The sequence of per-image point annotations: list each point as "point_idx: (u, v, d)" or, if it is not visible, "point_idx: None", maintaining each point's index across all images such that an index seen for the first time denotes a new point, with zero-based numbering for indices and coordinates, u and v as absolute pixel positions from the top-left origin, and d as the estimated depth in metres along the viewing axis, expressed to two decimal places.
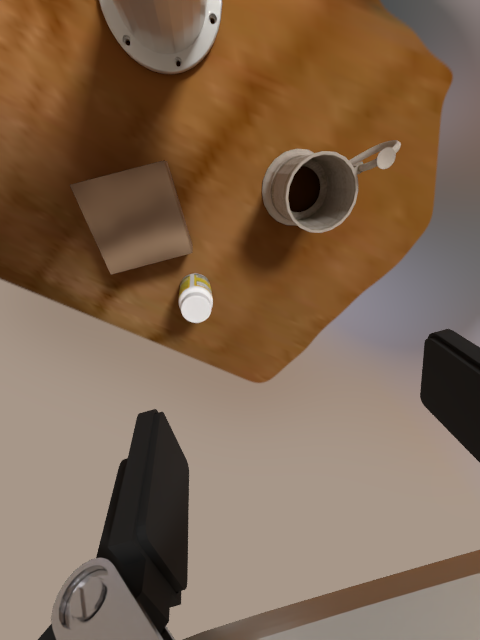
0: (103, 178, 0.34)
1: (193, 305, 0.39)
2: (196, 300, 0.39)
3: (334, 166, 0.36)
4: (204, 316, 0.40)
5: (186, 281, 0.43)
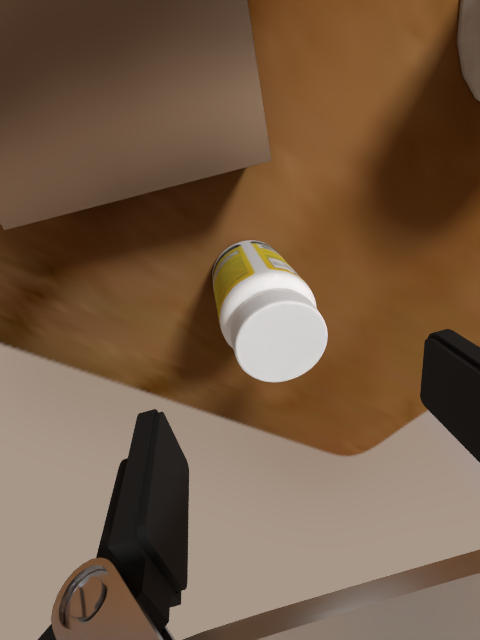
0: None
1: (275, 332, 0.12)
2: (287, 316, 0.12)
3: None
4: (303, 364, 0.13)
5: (235, 258, 0.16)
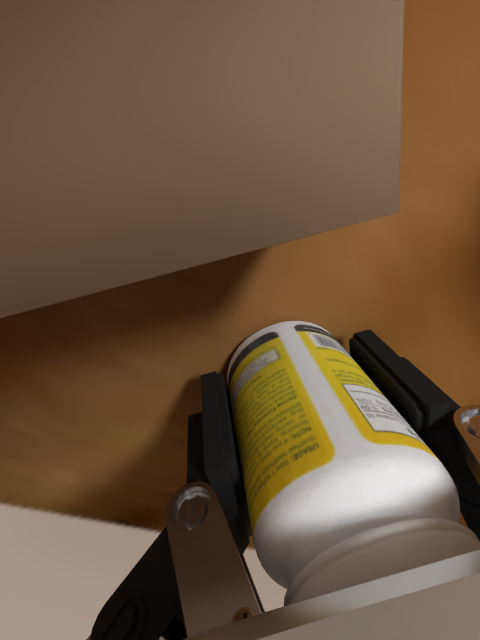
0: None
1: None
2: None
3: None
4: None
5: (276, 373, 0.09)
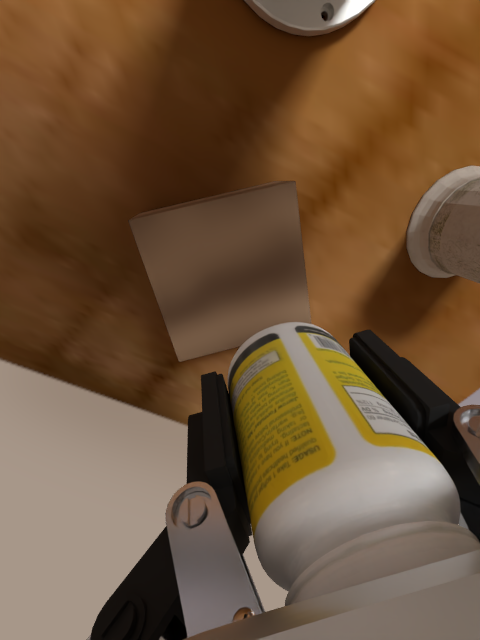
0: (189, 209, 0.19)
1: None
2: None
3: None
4: None
5: (276, 375, 0.09)
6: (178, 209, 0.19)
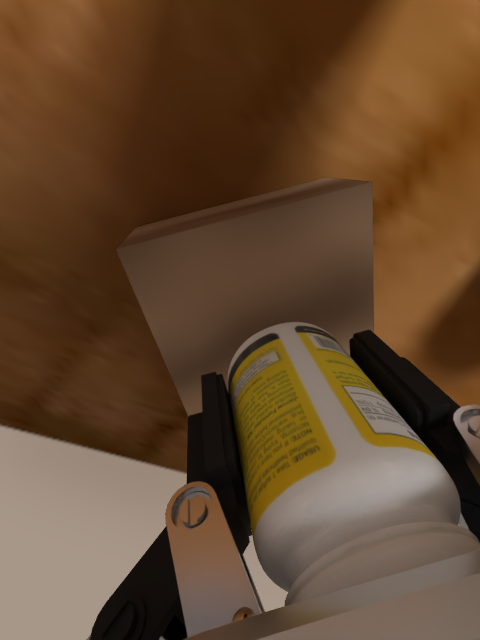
0: (209, 230, 0.12)
1: None
2: None
3: None
4: None
5: (276, 375, 0.09)
6: (192, 230, 0.12)
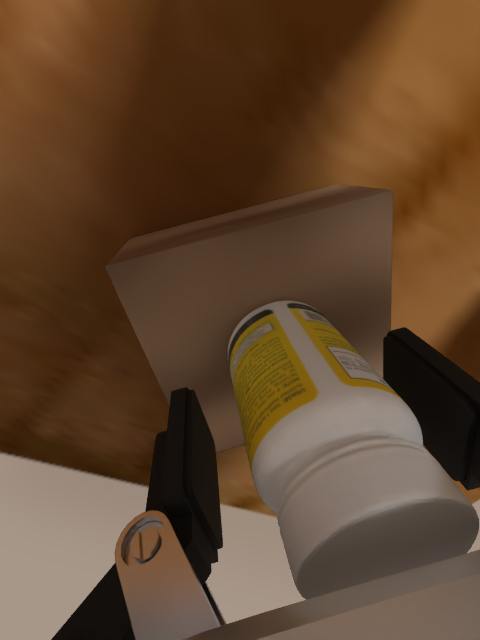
0: (209, 244, 0.11)
1: (381, 546, 0.06)
2: (411, 521, 0.05)
3: None
4: None
5: (270, 341, 0.10)
6: (190, 244, 0.11)
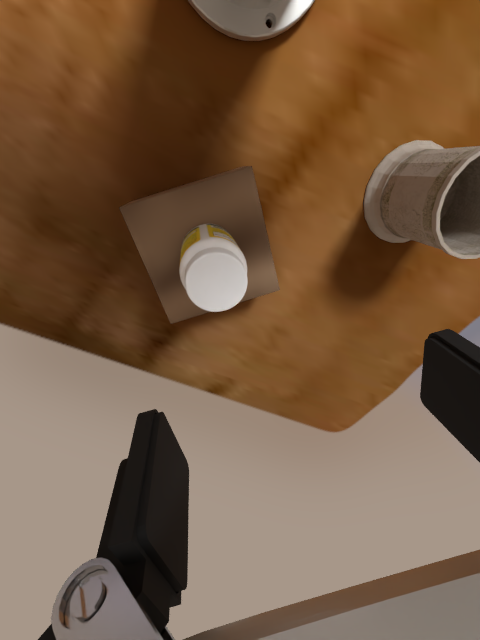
0: (167, 195, 0.24)
1: (210, 274, 0.18)
2: (217, 263, 0.18)
3: None
4: (234, 297, 0.19)
5: (193, 234, 0.23)
6: (158, 195, 0.24)
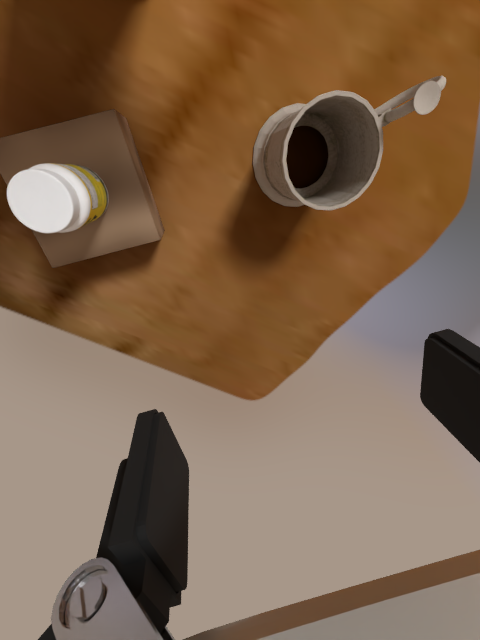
0: (31, 133, 0.25)
1: (32, 192, 0.19)
2: (36, 180, 0.19)
3: (348, 121, 0.27)
4: (61, 219, 0.20)
5: None
6: (22, 133, 0.25)
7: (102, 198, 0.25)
